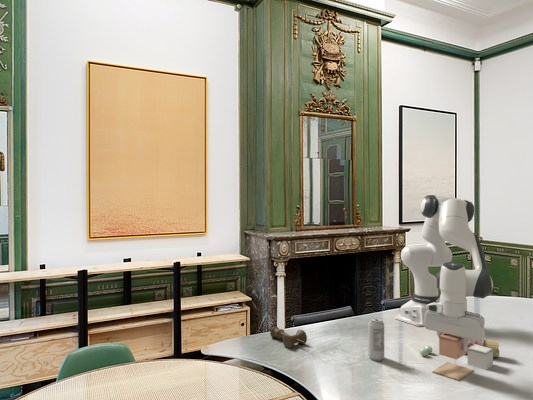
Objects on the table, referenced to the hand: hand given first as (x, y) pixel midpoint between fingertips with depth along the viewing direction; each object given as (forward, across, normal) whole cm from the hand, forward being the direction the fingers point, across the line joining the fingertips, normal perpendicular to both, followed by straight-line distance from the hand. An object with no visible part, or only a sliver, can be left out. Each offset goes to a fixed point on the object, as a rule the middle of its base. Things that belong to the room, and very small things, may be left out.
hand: (453, 347), depth 141 cm
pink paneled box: (+2, 0, 0) cm, 2 cm away
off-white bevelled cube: (+9, -4, -14) cm, 17 cm away
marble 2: (+9, +14, -10) cm, 19 cm away
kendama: (+9, +60, +24) cm, 65 cm away
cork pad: (+9, 0, 0) cm, 9 cm away
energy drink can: (+9, +25, +10) cm, 29 cm away
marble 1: (+9, +14, -6) cm, 18 cm away
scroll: (+9, +3, -23) cm, 25 cm away
